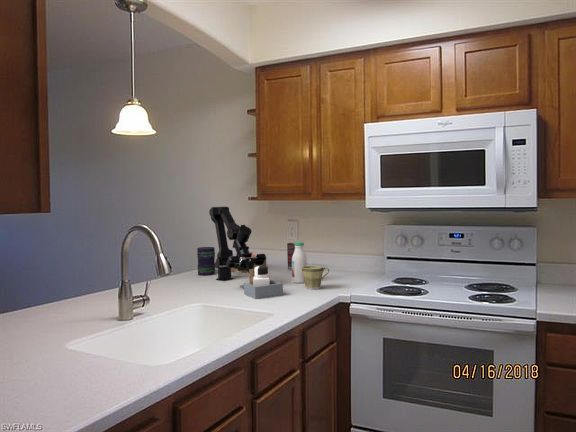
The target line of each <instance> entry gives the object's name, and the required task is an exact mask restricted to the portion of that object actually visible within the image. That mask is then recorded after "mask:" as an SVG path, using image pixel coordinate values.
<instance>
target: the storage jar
mask: <svg viewBox="0 0 576 432" xmlns="http://www.w3.org/2000/svg"><path fill="white" fill-rule="evenodd" d="M196 251H197V253H196V255H197V257H196V258H197V276H199V277H207V276H215V275H216V268H215V262H216V259H215V257H216V252H215V247H213V246H201V247H197V250H196Z"/></svg>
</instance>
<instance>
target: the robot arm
mask: <svg viewBox="0 0 576 432" xmlns="http://www.w3.org/2000/svg"><path fill="white" fill-rule="evenodd" d="M208 211H209V212H208V214H209V216H210V219H211V221H212V222H213V223H214V224H215V225H214V227H215V232H216V237H217V245H218V252H217V254H216V259H215V269H217V278H215V280H216V281H217V280H218V281H230V280H233V279H234V278H233V277H232V272H231V268H234V269H237V270H238V271H241V270H246V271H247V272H246V273H248V274H249V269H254V264H256V265H262V264H263V263H264V261H265V259H266V260H267V255H266V253H257V254H255V257H251V256H252V253H250V252H251V251H250V250H249V249H250V247H249V246H248V245H247V242H249V239H250V237H251V235H252V229H251V228H250V227H249V226H246V224H240V225H239V224H237V223H236V221H235V219H234V217H233V216H232V213H231V212H230V207H229V206H212V207H211V208H210V209H209V210H208ZM225 227H226V228H225ZM226 229H227V230H226ZM227 238H228V239H227ZM228 240H229V241H232V249H234V250H235V252H236V254H235V255H234V253H233V252H234V251H233V250H232V249H231V248H229V243H228ZM225 265H227V266H225Z"/></svg>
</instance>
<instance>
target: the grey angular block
mask: <svg viewBox="0 0 576 432" xmlns="http://www.w3.org/2000/svg"><path fill="white" fill-rule="evenodd" d="M243 285H244V288H243V294H244V295H245V296H247V297H250V298H252V299H255V300H257V299H264V298H271V297H279V296H283V295H284V283H282V282H278V281H276V280H272V279H270V285H264V286H254V285H251V284H250V283H248V282H243Z"/></svg>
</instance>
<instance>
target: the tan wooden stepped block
mask: <svg viewBox="0 0 576 432" xmlns="http://www.w3.org/2000/svg"><path fill="white" fill-rule="evenodd" d="M248 274H249V284H251V285H253V277H254V276H255V271H254V269H249V273H248Z"/></svg>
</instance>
